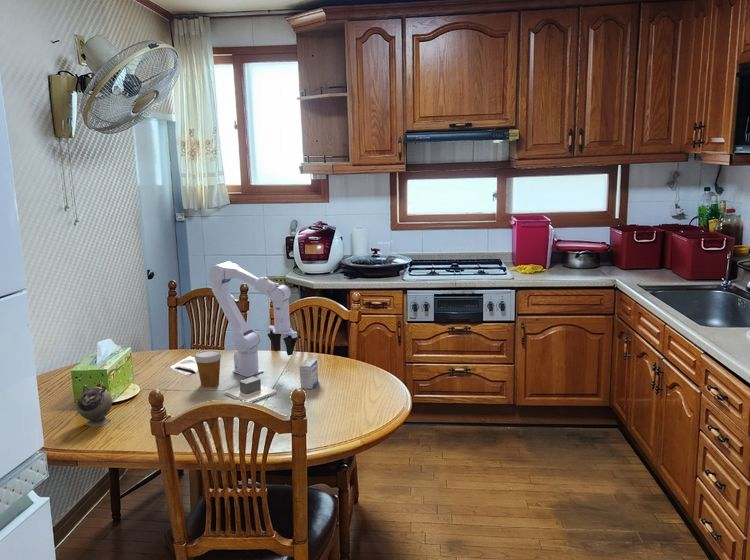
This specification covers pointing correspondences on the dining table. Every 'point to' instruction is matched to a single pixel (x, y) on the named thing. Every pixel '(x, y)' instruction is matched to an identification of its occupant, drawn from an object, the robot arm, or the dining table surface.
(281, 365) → the dining table surface
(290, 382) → the dining table surface
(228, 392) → the board
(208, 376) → the disposable coffee cup
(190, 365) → the cloth
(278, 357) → the dining table surface
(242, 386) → the block
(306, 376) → the medicine box
